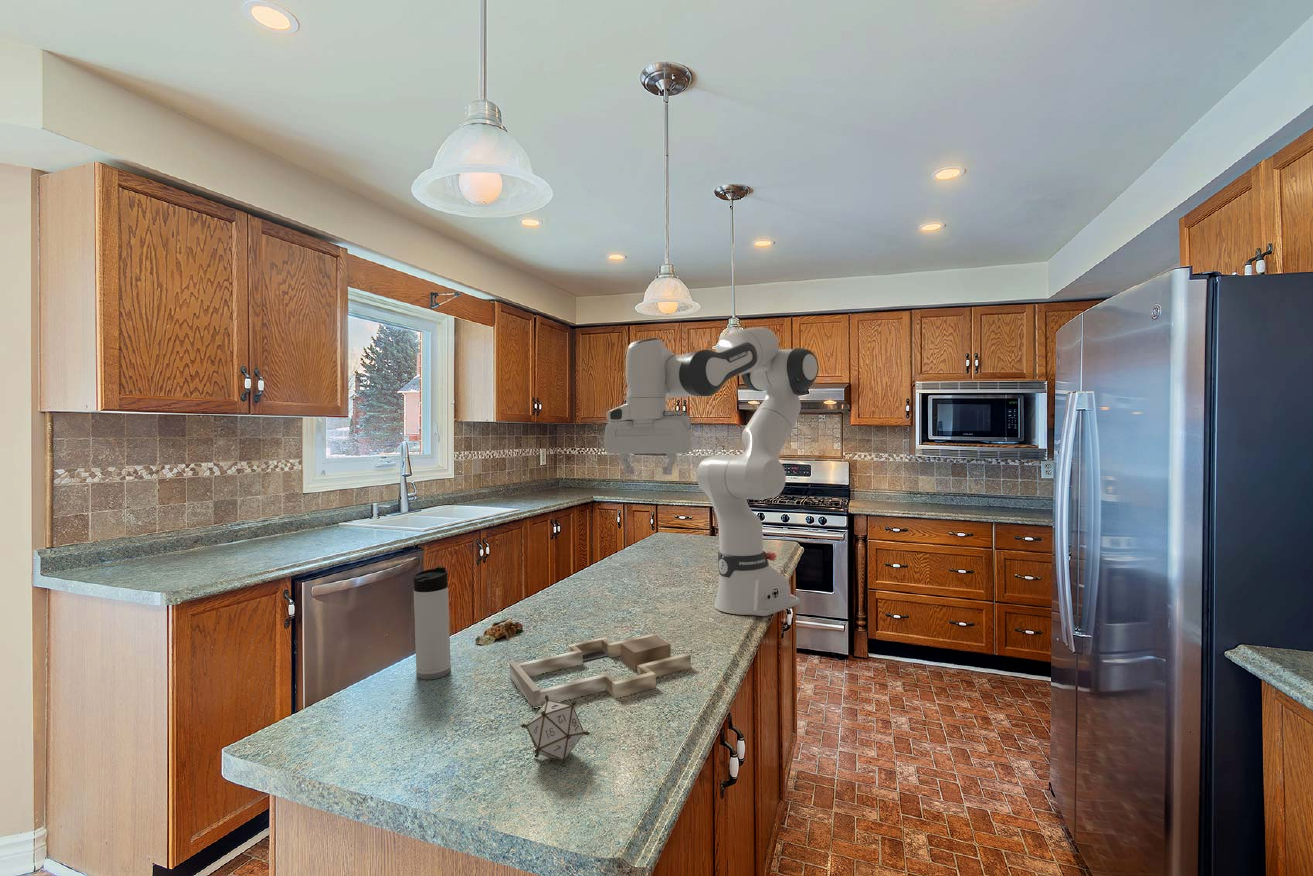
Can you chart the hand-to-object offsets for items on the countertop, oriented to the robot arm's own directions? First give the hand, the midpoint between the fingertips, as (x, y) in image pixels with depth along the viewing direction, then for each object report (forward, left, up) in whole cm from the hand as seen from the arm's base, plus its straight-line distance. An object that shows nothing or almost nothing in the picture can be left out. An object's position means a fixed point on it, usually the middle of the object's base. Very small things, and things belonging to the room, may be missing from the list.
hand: (648, 474), depth 131 cm
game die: (+35, +34, -37) cm, 61 cm away
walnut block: (+8, +11, -37) cm, 39 cm away
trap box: (+17, +11, -36) cm, 42 cm away
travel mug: (+45, -7, -37) cm, 58 cm away
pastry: (+29, -21, -37) cm, 51 cm away
